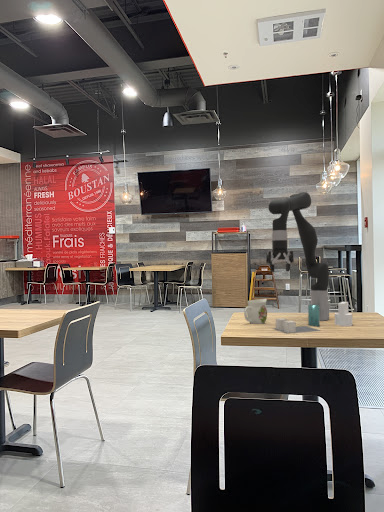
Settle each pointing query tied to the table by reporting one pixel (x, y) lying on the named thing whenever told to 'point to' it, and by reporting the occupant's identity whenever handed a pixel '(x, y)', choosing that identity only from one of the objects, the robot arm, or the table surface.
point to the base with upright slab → (343, 315)
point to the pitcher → (256, 311)
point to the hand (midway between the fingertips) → (280, 271)
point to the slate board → (300, 329)
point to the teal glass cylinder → (313, 315)
